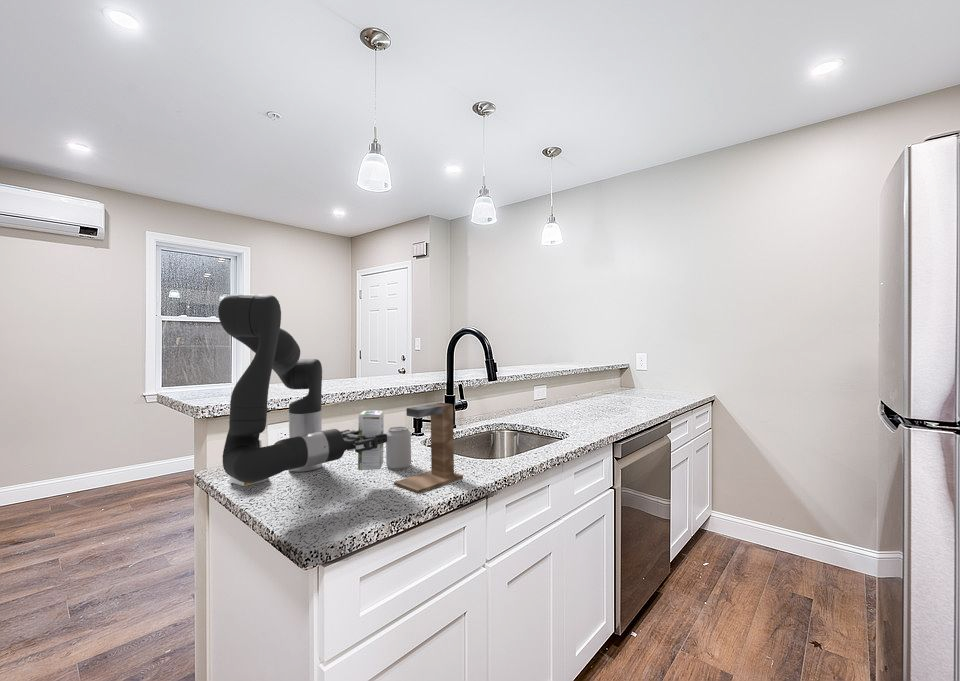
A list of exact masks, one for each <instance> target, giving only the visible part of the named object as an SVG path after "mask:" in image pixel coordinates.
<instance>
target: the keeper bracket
mask: <svg viewBox="0 0 960 681" xmlns="http://www.w3.org/2000/svg"><path fill="white" fill-rule="evenodd" d="M406 416H407V417H412V418H418V419H419V418H425V417H429V416H430V457H431V458H430V460H431V464H430V465H431V466H430V467H431V470H429V471H424V472H421V473H418V474H416V475H412V476H409V477H406V478H402V479H399V480H396V481H394V482H393V485H394V486H396V487H399V488H401V489H404V490H407V491H409V492H413V493H414V494H421V493H424V492H427V491H429V490H432V489H436V488H438V487H441V486H443V485H447V484H450V483H452V482H455V481H458V480H461V479H463V477H464V475H463V474H461V473H460V474H459V473H457V472H455V464H454V463H455V459H454V458H455V455H454V454H455V453H454V450H455V449H454V446H455V445H454V444H455V443H454V441H455V440H454V404H452V403H446V402H438V403H437V402H436V403H431V404H425V405H417V406H411V407H406Z"/></svg>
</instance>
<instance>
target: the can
mask: <svg viewBox="0 0 960 681" xmlns="http://www.w3.org/2000/svg"><path fill="white" fill-rule="evenodd" d="M387 430H388V431H387V432H386V433H385V434H387V442H386V443H385V465H386V467H387V468H388V469H390V470H392V471H393V470H394V471H400V470H405V469H408V468H409V467H410V466H411V465H412V432H411V431H410V430H409V427H408V426H401V425H400V426H392V427H391V426H390V427H388V429H387Z"/></svg>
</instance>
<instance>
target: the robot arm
mask: <svg viewBox="0 0 960 681" xmlns="http://www.w3.org/2000/svg"><path fill="white" fill-rule="evenodd" d="M217 316H218V319H219V322H220V325H221V327H222V328H223V330H224V331H225V332H226V334H228V335H229V336H230V337H232V338H233V339H235V340H237V341H238V342H240V343H242V344H243V345H244V346H247V348H248V349H250V350H251V351H252V352H254V354H255V355H254V357H253V359H252V361H250V363H249V365H248V367H247V368H246V370H245V371H244V372H243V373H242V375H241V377H240V378H239V379H238V381H237V382H236V384H235V385H234V388H233V390H232V392H231V396H230V401H229V402H230V403H229V405H230V406H229V418H228V419H229V421H228V422H229V424H228V425H229V427H228V432H227V434H226V439H225V443H224V446H223V452H222V467H223V470H224V472H225V473H226V475H228V476H229V477H230V476H231V477H233V478H235V479H236V480H238V481H240V482H244V483H251V482H257V481H261V480H264V479H267V478H271V477H274V476H276V475H279V474H281V473H283V472H285V471H288V472H296V473H297V472H299V473H300V472H303V473H304V472H310V471H314V470H318V469H320V468H321V467H322V466H323V464H324V463H325V464H326V463H330V462H334V461H337V460H340V459H341V458H343V456H344V453H345V451H347V452H354V453H359V452H362V451H367V450H371V449H376V448H377V445H378V444H382V443H383V444H386V442H387V434H386V433H383V434H381V435H376V436H366V435H358V430H354V429H352V430H350V429H345V430H339V429H337V428H331V429H325V430H323V429H322V426H323V425H322V424H323V422H322V388H323V386H322V385H323V367H322V363H321V361H320V360H319V359H317V358H300V357H301V348H300V346H299V344H298V342H297V341H296V340H295V338H294V337H293V336H292V335H291V334H290V333H289V332H288V331H286V330H285V329H283V328H281V324H282V310H281V304H280V301H279V300H278V299H277V297H276V296H274V295H270V294H261V293H259V294H258V293H253V294H252V293H232V294H229V295H226V296H225V297H223V298H222V299H221V301H220V302H219V305H218V309H217ZM272 371H273V372H275V373H276V375H277V376H278V378H279V379H280V381H281V382H282V384H283V385H284V386H285V388H287V389H290V390H308V392H307V394H306V395H305V396H303V397H302V398H300V399H297V400H294V401H291V402H290V403H289V404H288V432H289V433H288V434H289V436H288V438H283V439H280V440H277V441H276V442H275V443H274V444H270V445H267V446H261V447H259V448H258V440H259V438H260V434H261V433H263V432H264V431H265V429H266V427H267V420H268V416H267V415H268V400H269V399H268V398H269V388H270V382H271V375H272ZM360 438H362V439H363V440H360ZM370 442H371V444H369V443H370ZM354 450H355V451H354Z"/></svg>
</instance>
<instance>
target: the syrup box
mask: <svg viewBox="0 0 960 681" xmlns="http://www.w3.org/2000/svg"><path fill="white" fill-rule="evenodd" d="M384 414H385V412H384V411H383V410H373V409H372V410H363V411H362V412H361V413H360V414H359V415H358V430H357V431H358V435H366V436H376V435H381V434H385V433H384V423H385V422H384V416H385V415H384ZM360 440H363V439H362V438H360ZM369 444H371V442H370V443H369ZM357 460H358V462H357V470H358V471H371V470H372V471H373V470H381V468H382V466H383V463H384V443H382V444H378V445H377V448H376V449H371V450H367V451H362V452H359V453H358V455H357Z"/></svg>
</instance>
